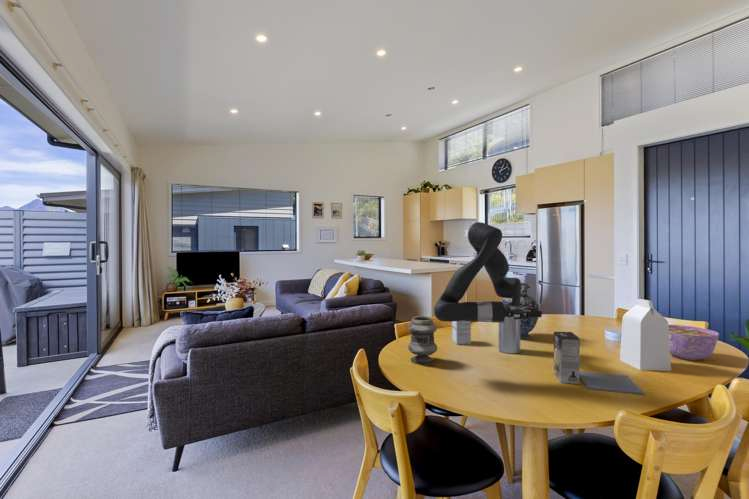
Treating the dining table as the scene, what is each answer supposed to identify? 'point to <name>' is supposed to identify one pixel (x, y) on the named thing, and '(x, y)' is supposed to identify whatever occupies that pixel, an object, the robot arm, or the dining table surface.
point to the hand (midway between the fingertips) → (539, 312)
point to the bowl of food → (691, 342)
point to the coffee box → (566, 357)
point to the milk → (645, 338)
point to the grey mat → (609, 382)
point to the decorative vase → (525, 324)
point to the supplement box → (461, 332)
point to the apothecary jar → (422, 339)
